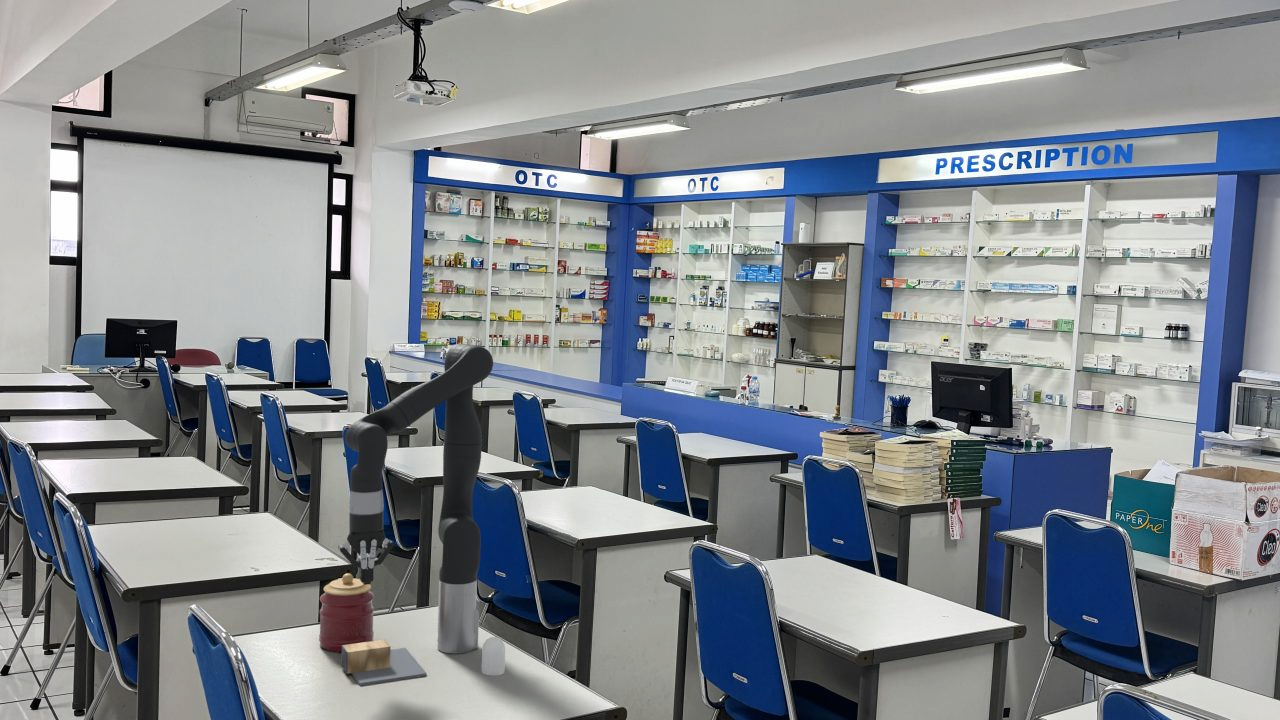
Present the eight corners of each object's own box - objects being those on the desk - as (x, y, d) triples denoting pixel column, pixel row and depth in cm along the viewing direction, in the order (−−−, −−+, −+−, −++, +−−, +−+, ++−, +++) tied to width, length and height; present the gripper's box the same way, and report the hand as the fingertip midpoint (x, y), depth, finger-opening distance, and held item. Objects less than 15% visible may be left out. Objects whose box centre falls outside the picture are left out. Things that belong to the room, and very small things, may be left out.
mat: (405, 650, 249) (405, 647, 249) (426, 675, 233) (426, 673, 233) (342, 658, 241) (342, 656, 241) (359, 685, 226) (359, 683, 226)
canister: (376, 634, 259) (377, 566, 258) (369, 652, 246) (371, 581, 245) (323, 634, 257) (325, 566, 256) (314, 653, 244) (315, 581, 243)
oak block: (341, 666, 235) (384, 660, 240) (346, 673, 231) (390, 667, 235) (341, 645, 235) (384, 639, 239) (346, 652, 230) (390, 646, 235)
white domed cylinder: (508, 673, 236) (509, 639, 236) (486, 676, 234) (487, 642, 233) (499, 665, 241) (500, 632, 240) (478, 669, 238) (478, 635, 238)
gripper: (390, 503, 239) (390, 576, 240) (333, 508, 232) (333, 582, 234) (399, 510, 232) (399, 584, 233) (340, 515, 226) (340, 591, 227)
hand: (366, 583), depth 234 cm, fingers closed
